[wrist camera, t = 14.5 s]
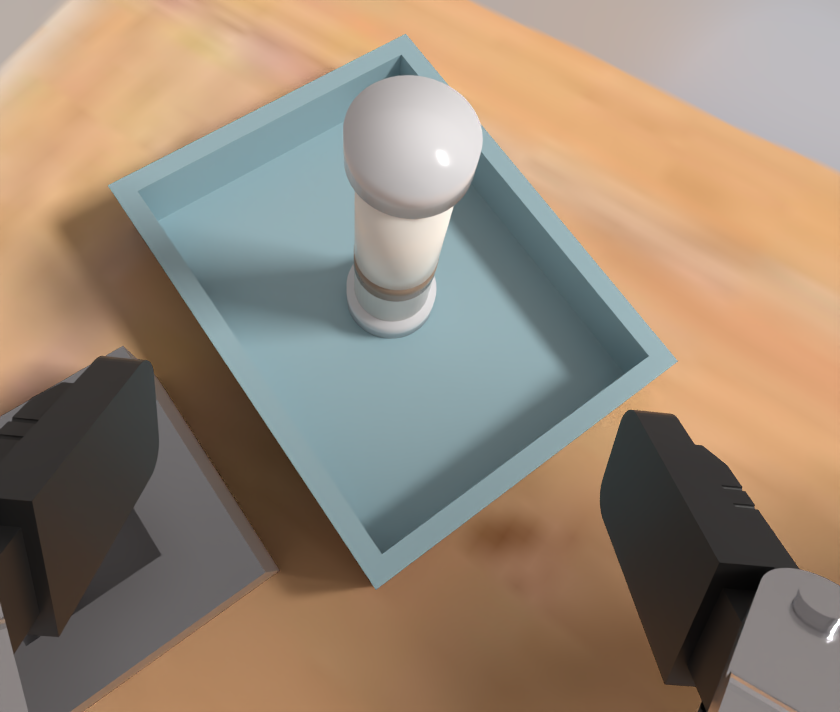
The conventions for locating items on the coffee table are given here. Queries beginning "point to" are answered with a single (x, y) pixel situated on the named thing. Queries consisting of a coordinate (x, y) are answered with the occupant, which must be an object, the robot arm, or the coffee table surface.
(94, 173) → the coffee table surface
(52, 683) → the socket block
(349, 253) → the parts tray
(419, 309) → the white light bulb
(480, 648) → the coffee table surface
